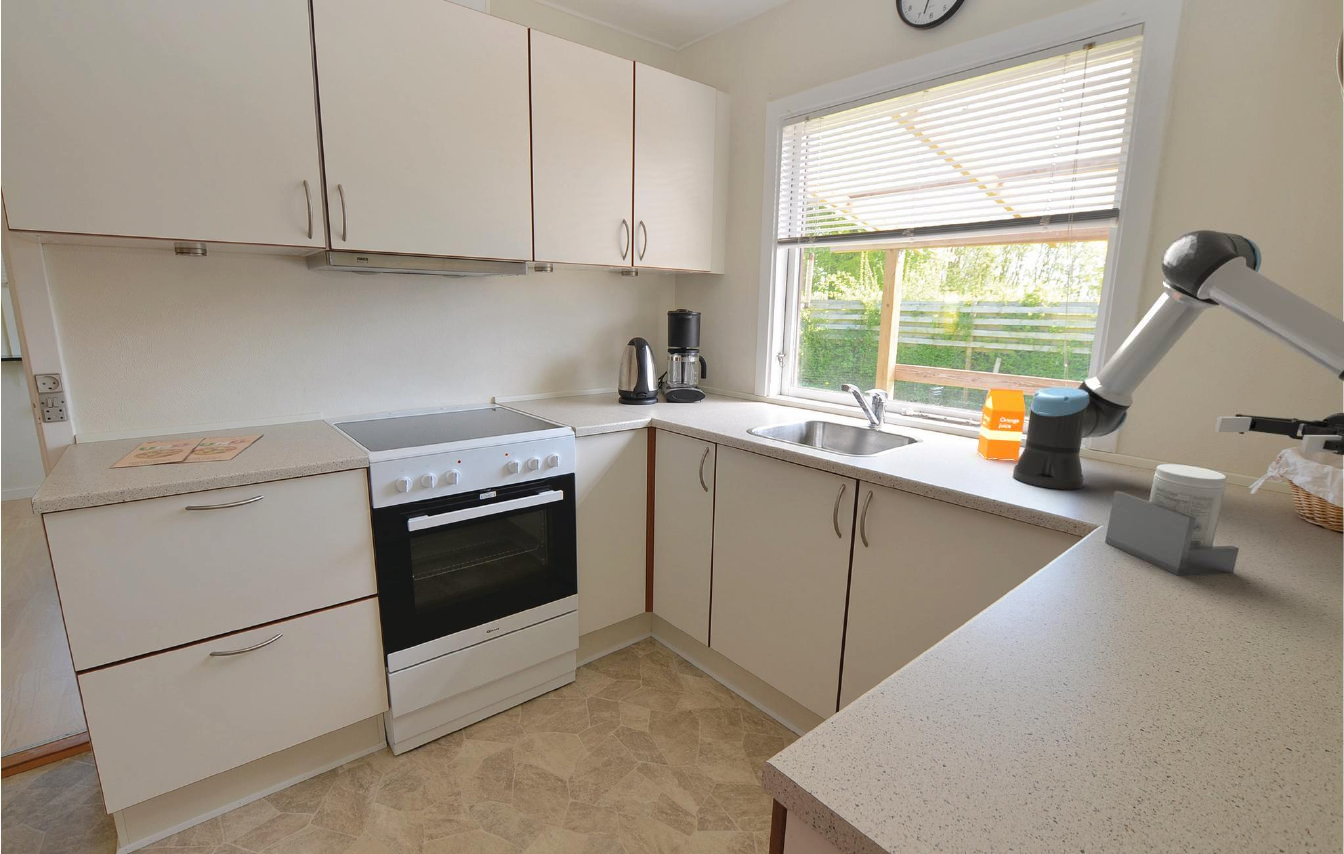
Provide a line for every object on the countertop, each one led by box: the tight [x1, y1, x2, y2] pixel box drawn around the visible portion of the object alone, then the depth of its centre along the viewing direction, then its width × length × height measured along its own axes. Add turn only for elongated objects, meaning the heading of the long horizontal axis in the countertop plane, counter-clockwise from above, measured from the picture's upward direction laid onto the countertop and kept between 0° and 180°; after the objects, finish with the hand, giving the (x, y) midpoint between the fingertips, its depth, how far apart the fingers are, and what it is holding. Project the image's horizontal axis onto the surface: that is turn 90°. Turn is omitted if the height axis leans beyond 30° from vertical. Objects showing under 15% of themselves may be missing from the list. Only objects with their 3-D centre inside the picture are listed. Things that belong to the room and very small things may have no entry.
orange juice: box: [977, 388, 1026, 461], centre depth 174 cm, size 8×9×20 cm
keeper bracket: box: [1104, 490, 1240, 576], centre depth 106 cm, size 14×11×10 cm
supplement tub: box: [1148, 463, 1227, 548], centre depth 105 cm, size 10×10×15 cm
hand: (1258, 433), depth 103 cm, fingers open, 13 cm apart
